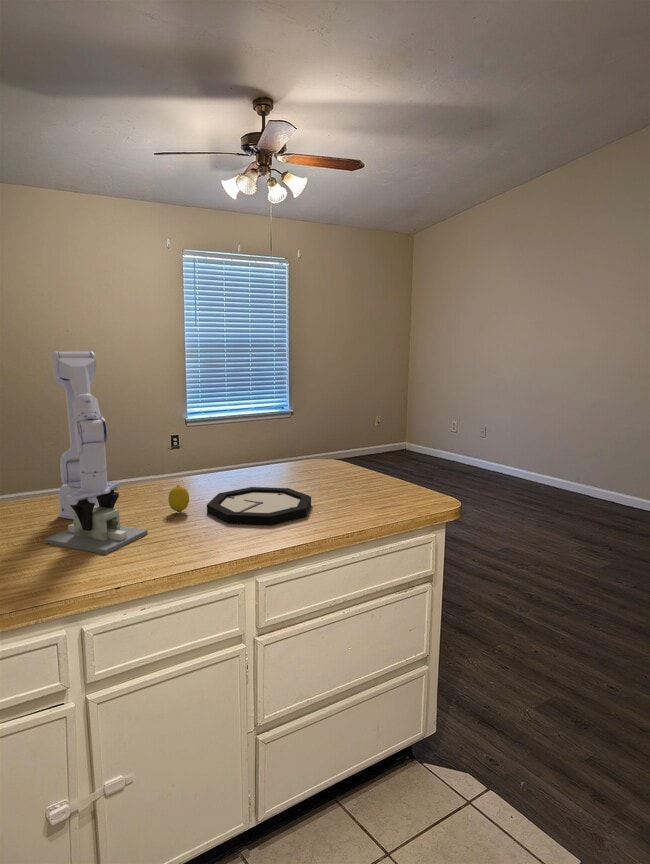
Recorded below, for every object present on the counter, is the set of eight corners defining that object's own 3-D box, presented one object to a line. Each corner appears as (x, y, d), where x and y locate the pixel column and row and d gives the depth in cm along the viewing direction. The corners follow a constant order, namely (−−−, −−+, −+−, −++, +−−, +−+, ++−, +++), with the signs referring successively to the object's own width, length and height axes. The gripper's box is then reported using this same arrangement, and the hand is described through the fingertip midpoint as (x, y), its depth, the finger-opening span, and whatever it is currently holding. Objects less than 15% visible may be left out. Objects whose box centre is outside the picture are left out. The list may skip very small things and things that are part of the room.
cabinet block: (74, 535, 127) (72, 511, 126) (91, 528, 131) (89, 505, 130) (108, 541, 123) (106, 516, 122) (124, 534, 128) (122, 510, 127)
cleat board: (44, 543, 124) (44, 532, 124) (90, 524, 137) (89, 515, 137) (105, 554, 118) (105, 543, 118) (147, 534, 131) (147, 524, 130)
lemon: (168, 510, 149) (167, 483, 148) (188, 508, 151) (187, 481, 150) (169, 516, 144) (168, 488, 143) (190, 514, 146) (189, 486, 145)
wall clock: (331, 494, 158) (275, 524, 132) (331, 504, 158) (275, 535, 132) (248, 482, 172) (183, 506, 146) (248, 490, 172) (184, 516, 146)
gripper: (82, 479, 117) (86, 538, 119) (128, 465, 130) (131, 519, 132) (58, 476, 119) (62, 534, 121) (105, 463, 133) (108, 515, 135)
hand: (96, 526), depth 127 cm, fingers open, 5 cm apart
